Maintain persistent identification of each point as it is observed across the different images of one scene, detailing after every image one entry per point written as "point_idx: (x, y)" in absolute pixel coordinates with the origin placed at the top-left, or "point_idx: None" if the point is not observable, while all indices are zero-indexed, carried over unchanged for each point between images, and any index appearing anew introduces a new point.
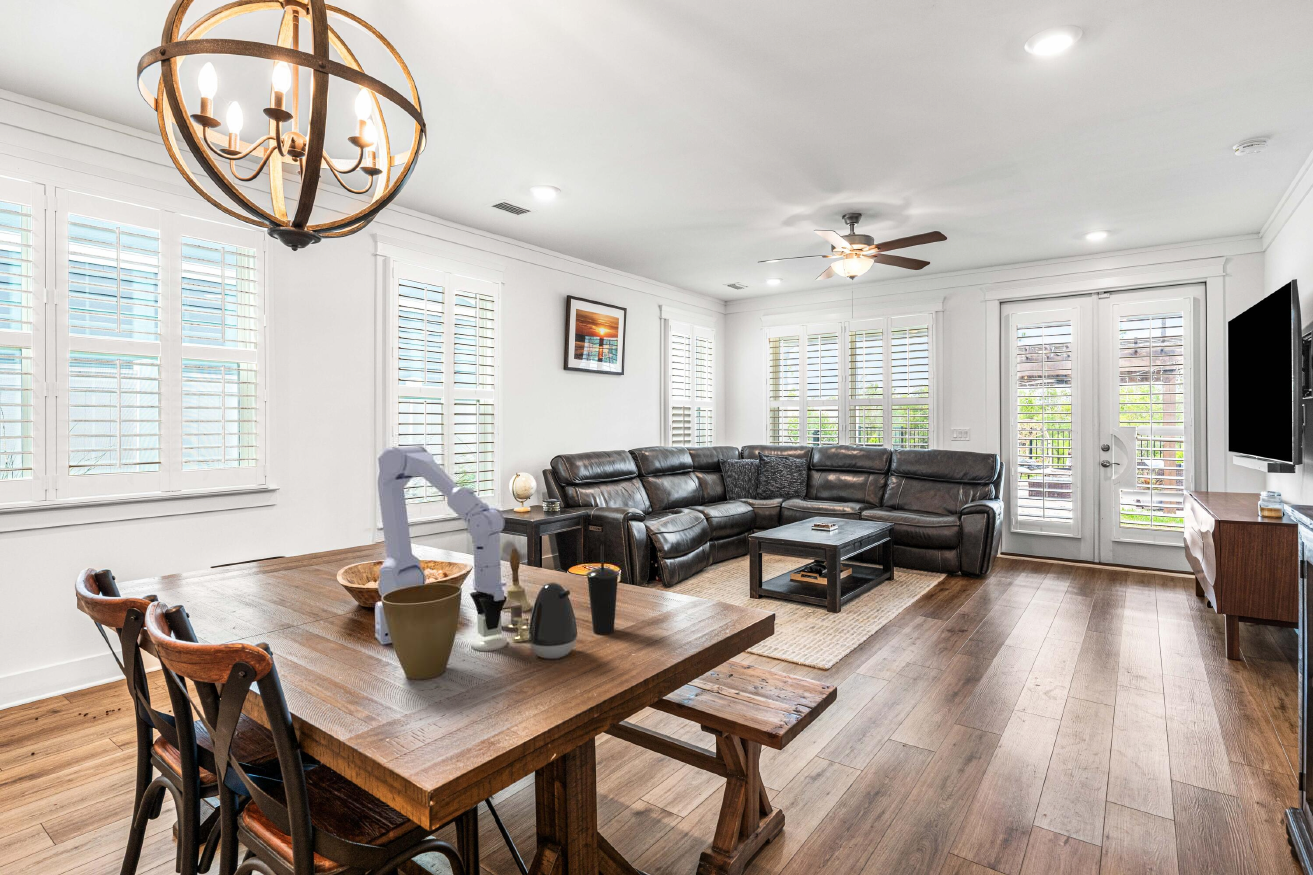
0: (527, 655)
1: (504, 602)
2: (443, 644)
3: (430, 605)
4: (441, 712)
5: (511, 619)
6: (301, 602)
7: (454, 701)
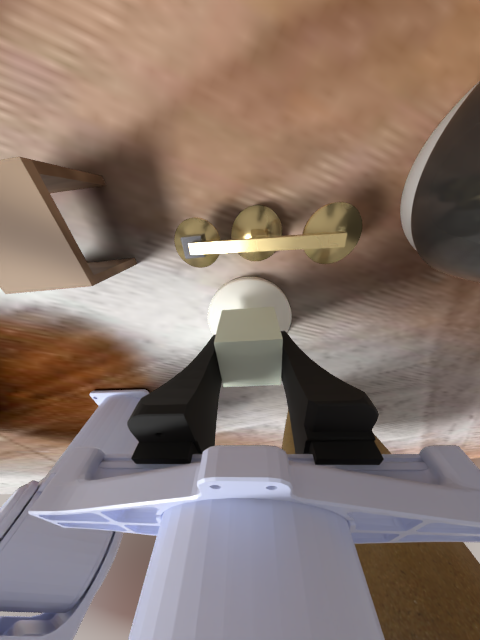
0: (386, 258)
1: (351, 388)
2: None
3: None
4: (461, 417)
5: (186, 255)
6: None
7: (448, 403)
